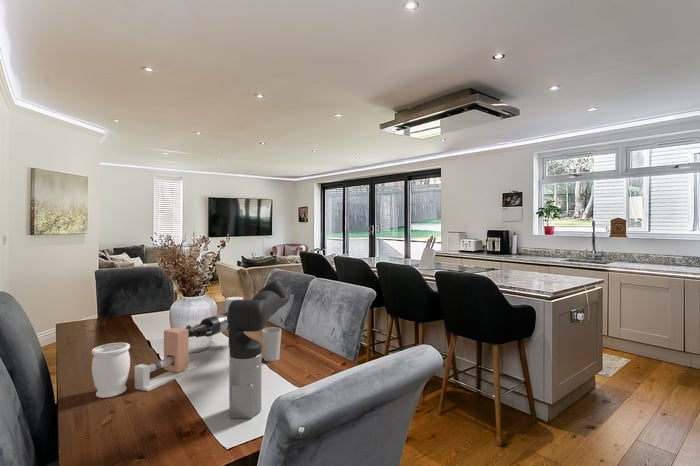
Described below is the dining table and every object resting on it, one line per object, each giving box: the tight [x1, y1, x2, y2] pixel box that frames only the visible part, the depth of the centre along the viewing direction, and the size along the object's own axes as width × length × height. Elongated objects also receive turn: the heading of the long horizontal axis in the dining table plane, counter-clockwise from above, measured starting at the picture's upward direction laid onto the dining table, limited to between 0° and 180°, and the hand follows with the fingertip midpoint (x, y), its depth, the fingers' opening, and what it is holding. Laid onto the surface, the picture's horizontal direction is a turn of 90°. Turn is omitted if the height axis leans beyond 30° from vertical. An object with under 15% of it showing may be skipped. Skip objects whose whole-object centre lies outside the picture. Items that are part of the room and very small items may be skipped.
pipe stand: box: [134, 356, 197, 392], centre depth 133 cm, size 21×6×8 cm, turn 158°
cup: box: [261, 326, 282, 362], centre depth 153 cm, size 8×8×12 cm
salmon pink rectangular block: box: [163, 326, 189, 372], centre depth 138 cm, size 5×7×14 cm
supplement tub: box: [224, 296, 244, 313], centre depth 204 cm, size 10×10×15 cm
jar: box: [91, 342, 131, 399], centre depth 121 cm, size 11×10×15 cm
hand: (181, 336), depth 140 cm, fingers closed
